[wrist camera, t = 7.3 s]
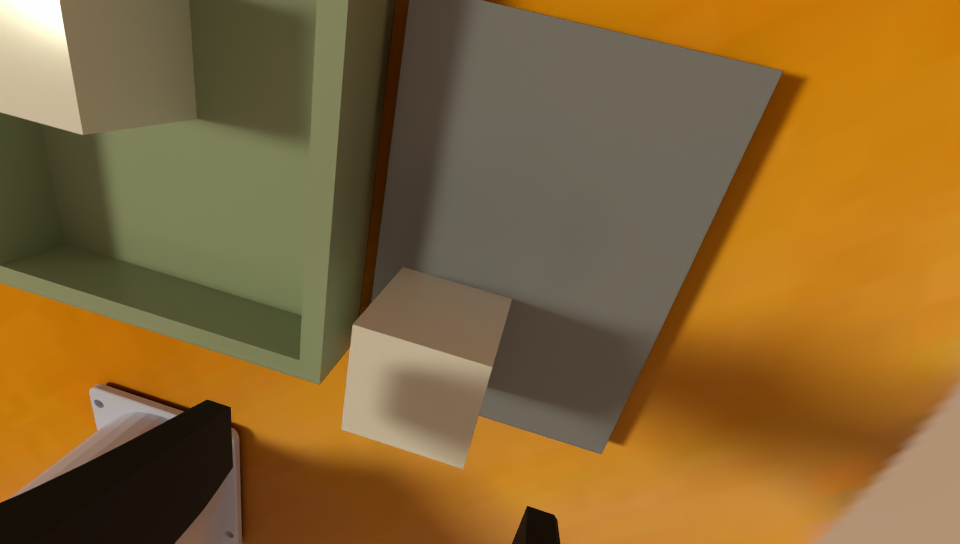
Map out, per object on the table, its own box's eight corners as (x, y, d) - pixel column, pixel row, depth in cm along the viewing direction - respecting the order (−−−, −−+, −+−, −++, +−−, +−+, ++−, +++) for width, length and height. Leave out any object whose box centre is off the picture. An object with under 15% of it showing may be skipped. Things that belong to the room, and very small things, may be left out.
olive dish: (356, 339, 19) (319, 384, 16) (66, 250, 20) (-13, 278, 17) (401, -51, 13) (354, -80, 10) (-17, -147, 14) (-158, -196, 11)
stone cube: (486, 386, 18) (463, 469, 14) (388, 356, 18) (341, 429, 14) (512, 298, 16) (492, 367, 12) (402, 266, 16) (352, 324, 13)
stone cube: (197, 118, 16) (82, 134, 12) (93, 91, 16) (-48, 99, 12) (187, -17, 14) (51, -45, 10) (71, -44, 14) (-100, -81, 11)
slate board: (600, 439, 18) (601, 454, 18) (369, 366, 19) (361, 378, 19) (771, 70, 12) (782, 71, 12) (420, -12, 13) (411, -17, 12)
